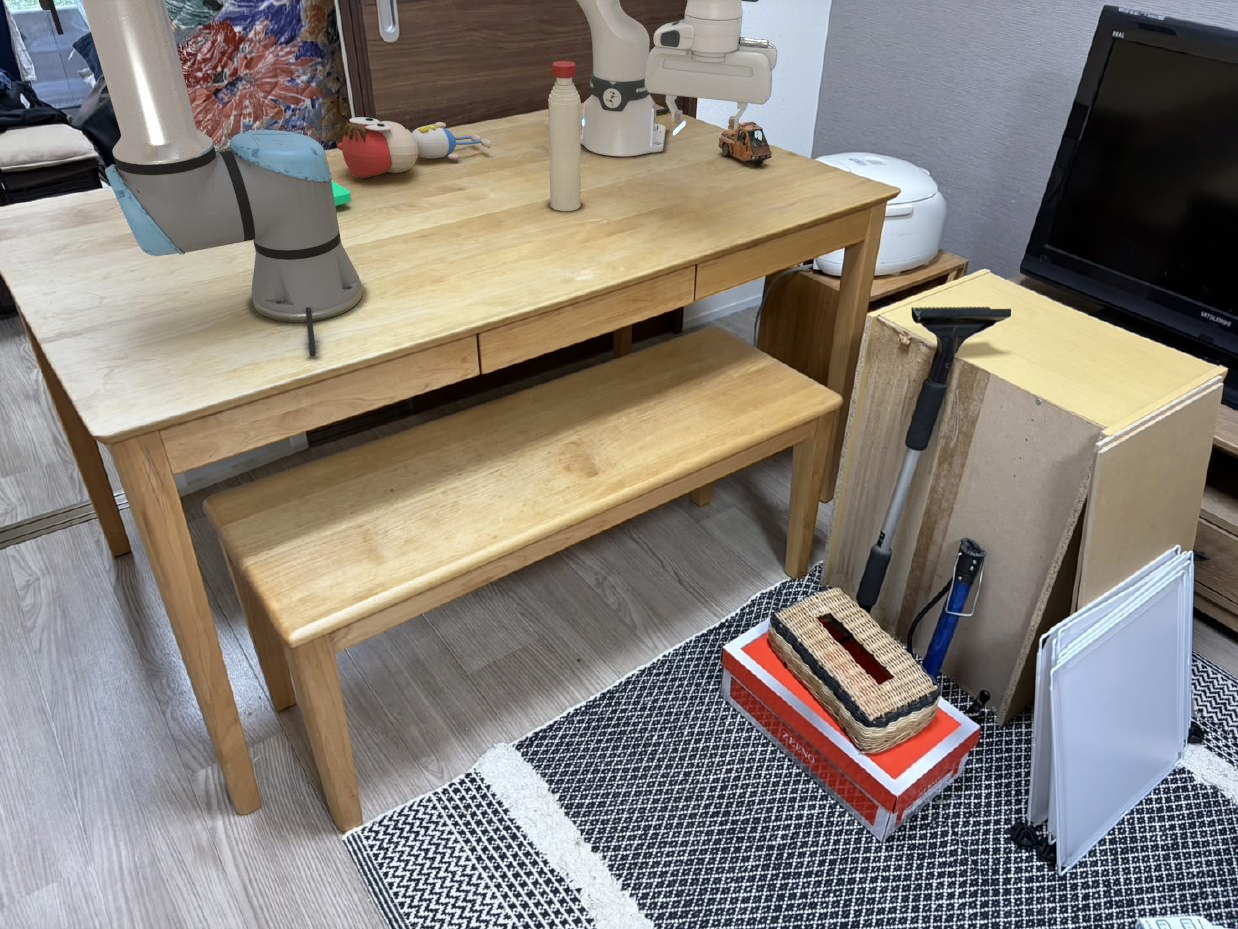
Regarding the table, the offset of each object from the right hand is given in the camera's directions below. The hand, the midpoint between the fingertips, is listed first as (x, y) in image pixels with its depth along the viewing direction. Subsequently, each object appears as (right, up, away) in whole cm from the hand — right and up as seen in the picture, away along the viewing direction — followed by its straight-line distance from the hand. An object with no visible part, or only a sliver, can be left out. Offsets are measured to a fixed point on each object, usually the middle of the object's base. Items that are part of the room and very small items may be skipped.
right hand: (704, 125), depth 151 cm
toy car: (+12, +7, +37) cm, 40 cm away
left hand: (-95, +14, -5) cm, 96 cm away
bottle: (-24, -9, +15) cm, 29 cm away
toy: (-53, +3, +30) cm, 61 cm away
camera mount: (-67, -9, +13) cm, 69 cm away
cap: (-23, +10, +1) cm, 25 cm away
